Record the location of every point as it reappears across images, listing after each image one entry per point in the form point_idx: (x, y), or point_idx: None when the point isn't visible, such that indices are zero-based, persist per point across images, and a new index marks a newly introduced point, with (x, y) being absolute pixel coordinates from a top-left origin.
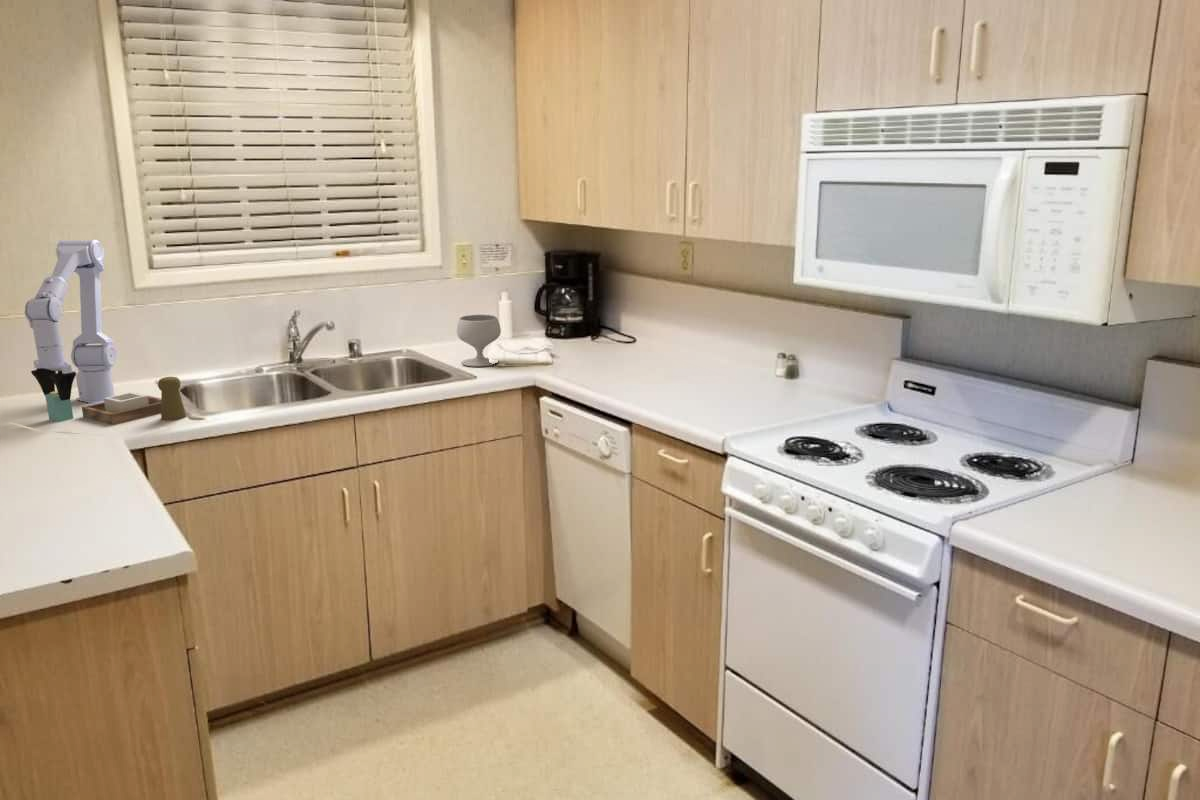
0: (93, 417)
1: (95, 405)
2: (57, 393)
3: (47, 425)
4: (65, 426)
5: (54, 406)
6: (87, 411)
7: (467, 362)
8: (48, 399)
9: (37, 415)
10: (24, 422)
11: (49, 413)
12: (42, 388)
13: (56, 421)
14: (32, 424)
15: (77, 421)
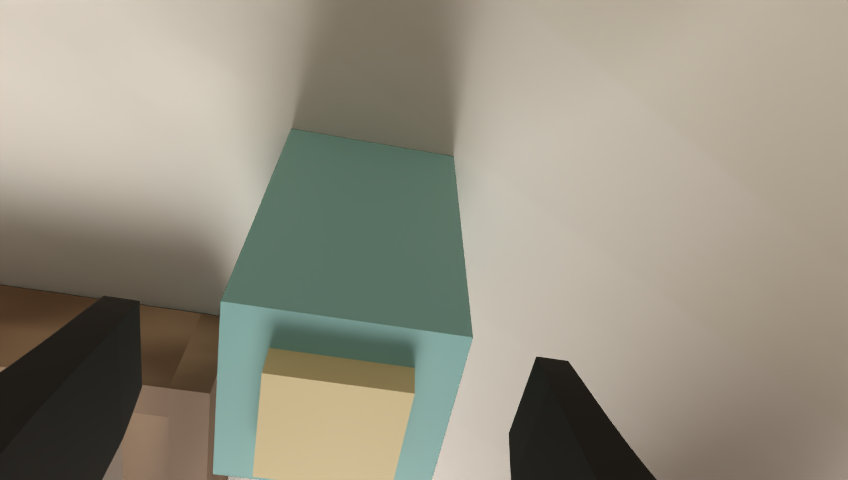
0: (37, 314)
1: (170, 468)
2: (260, 401)
3: (322, 37)
4: (101, 79)
5: (264, 221)
6: None
7: None
8: (391, 288)
9: (756, 253)
10: (687, 32)
11: (430, 193)
12: (586, 436)
13: (309, 140)
14: (525, 5)
15: (186, 241)
